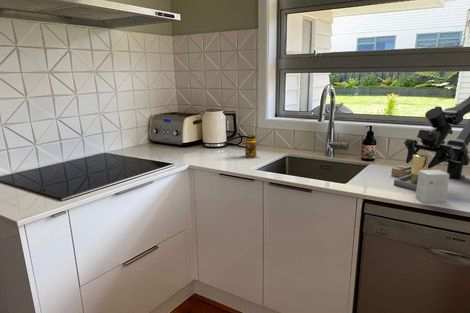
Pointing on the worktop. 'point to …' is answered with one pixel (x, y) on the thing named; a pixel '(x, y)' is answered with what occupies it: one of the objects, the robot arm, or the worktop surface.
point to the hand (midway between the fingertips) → (417, 165)
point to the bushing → (418, 166)
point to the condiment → (250, 147)
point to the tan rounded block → (401, 171)
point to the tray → (405, 182)
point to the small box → (432, 186)
